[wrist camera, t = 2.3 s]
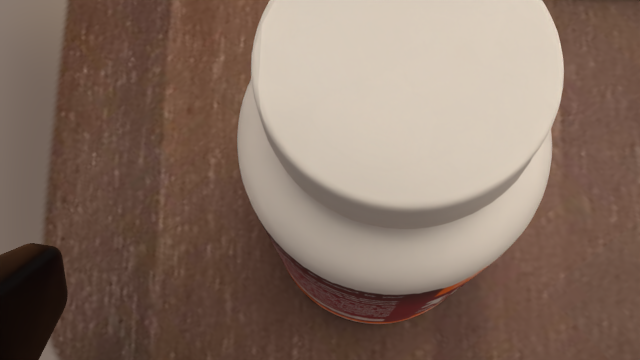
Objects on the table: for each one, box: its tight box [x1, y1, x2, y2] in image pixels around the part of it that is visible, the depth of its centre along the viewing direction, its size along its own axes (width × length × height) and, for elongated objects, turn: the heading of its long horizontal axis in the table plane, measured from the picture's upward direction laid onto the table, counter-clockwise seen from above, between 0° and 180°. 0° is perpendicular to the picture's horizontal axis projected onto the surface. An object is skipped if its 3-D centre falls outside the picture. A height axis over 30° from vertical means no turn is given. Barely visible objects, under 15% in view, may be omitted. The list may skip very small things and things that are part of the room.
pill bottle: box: [237, 0, 564, 324], centre depth 14 cm, size 6×6×11 cm
